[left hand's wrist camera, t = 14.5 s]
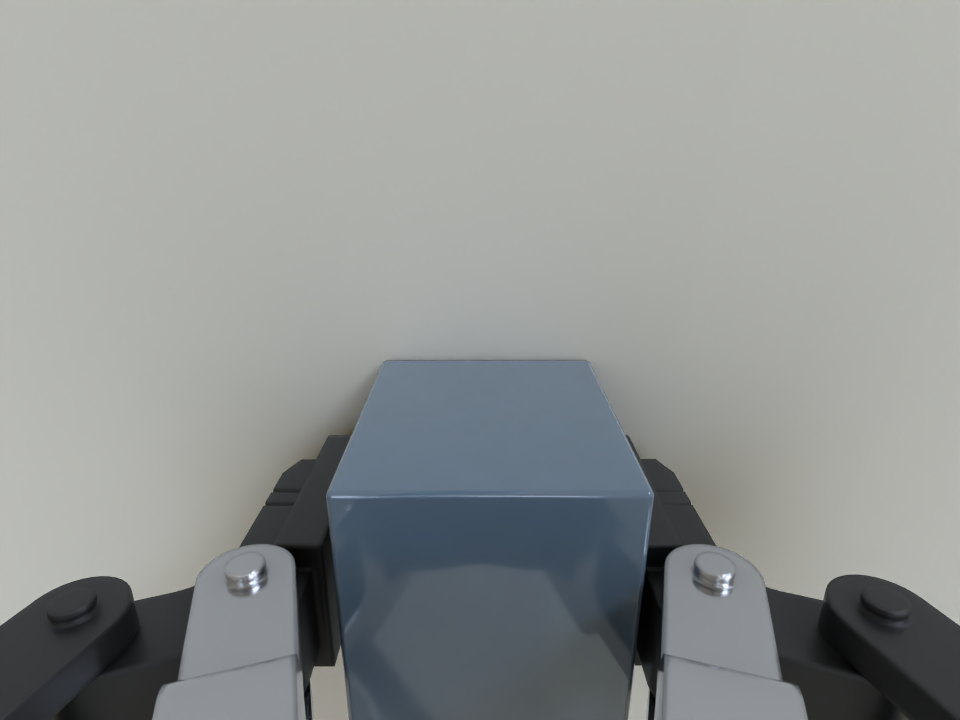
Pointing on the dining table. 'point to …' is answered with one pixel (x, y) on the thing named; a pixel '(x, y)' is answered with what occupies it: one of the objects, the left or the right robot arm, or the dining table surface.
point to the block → (488, 545)
